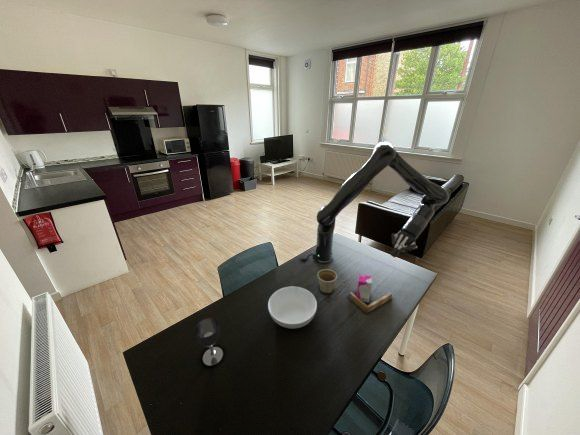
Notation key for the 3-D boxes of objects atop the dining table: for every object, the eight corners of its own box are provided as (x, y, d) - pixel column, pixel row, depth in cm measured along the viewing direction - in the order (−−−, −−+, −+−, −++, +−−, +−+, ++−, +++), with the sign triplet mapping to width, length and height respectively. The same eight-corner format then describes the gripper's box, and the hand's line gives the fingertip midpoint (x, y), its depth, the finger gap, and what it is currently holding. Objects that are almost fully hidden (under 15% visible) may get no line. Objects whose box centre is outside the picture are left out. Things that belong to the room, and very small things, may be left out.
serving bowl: (258, 316, 104) (257, 304, 101) (291, 291, 117) (291, 280, 115) (294, 345, 91) (294, 333, 88) (326, 313, 105) (327, 302, 102)
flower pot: (314, 292, 116) (315, 278, 113) (319, 280, 124) (320, 267, 121) (333, 298, 113) (334, 283, 109) (337, 285, 121) (338, 271, 117)
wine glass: (212, 371, 82) (205, 341, 76) (196, 359, 86) (189, 330, 80) (228, 352, 88) (223, 323, 82) (213, 342, 92) (208, 314, 86)
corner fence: (366, 313, 105) (367, 308, 103) (349, 298, 113) (349, 293, 112) (391, 298, 112) (392, 294, 111) (373, 285, 121) (374, 280, 120)
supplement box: (368, 294, 115) (372, 275, 110) (368, 303, 110) (372, 284, 105) (356, 292, 117) (359, 273, 112) (355, 300, 111) (358, 281, 107)
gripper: (399, 216, 111) (377, 246, 111) (426, 227, 101) (403, 260, 101) (404, 224, 116) (383, 252, 116) (431, 235, 106) (408, 266, 105)
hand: (392, 256), depth 108 cm, fingers closed
